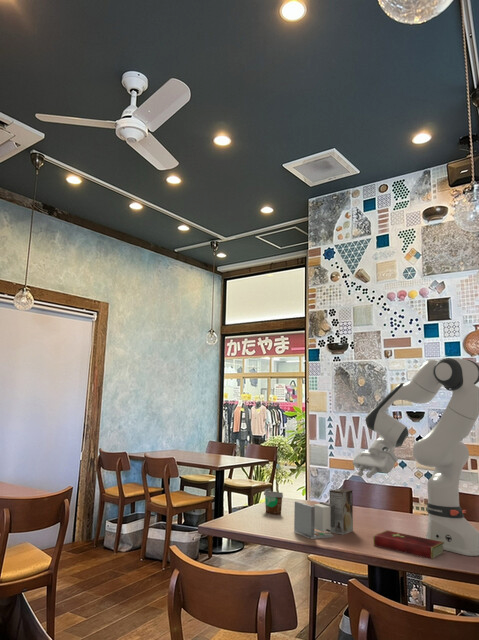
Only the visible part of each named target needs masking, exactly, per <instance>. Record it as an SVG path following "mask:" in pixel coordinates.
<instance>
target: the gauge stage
mask: <svg viewBox="0 0 479 640" xmlns="http://www.w3.org/2000/svg"><path fill="white" fill-rule="evenodd" d="M312 506H314V507H315V528H314V530H316V531H318V532H321V533H326V532H329V533H331V532H330V531H331V527H332V528H333V527H335V506H334V505H330V503H327V502H323V501H319V503H316V504H315V503H314V504H313V505H312Z"/></svg>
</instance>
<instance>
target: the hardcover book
mask: <svg viewBox="0 0 479 640" xmlns="http://www.w3.org/2000/svg"><path fill="white" fill-rule="evenodd" d="M443 543H444V542H441V541H436V540H432V539H427V538H426V537H421V536H418V535H417V536H416V535H412V534H406V533H402V532H398V531H392V530H385V531H382V532H378V533H376V534H374V535H373V546H375V547H379V548H383V549H387V550H392V551H396V552H401V553H405V554H410V555H413V556H416V557H417V556H418V557H422V558H427V559H429V560H434V558H435V557H437V556H439V555H441V554H443V552H444V551H443V545H442V544H443Z"/></svg>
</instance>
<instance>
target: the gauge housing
mask: <svg viewBox="0 0 479 640" xmlns="http://www.w3.org/2000/svg"><path fill="white" fill-rule="evenodd" d="M293 521H294V522H293V523H294V524H293V525H294V527H293V532H294V534H297V535H300V536H303V537H305V538H307V539H309V538H310V539H309V540H316V539H326V538H327V539H328V538H333V537H334V533H332V532H328V531H326V532H321V531H318V530H315V529H314V528H315V507H314V506H313V505H312V504H307V503H304V502H301V501H294V518H293Z"/></svg>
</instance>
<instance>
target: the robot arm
mask: <svg viewBox="0 0 479 640" xmlns="http://www.w3.org/2000/svg"><path fill="white" fill-rule="evenodd" d="M478 383H479V364H478V363H476V362H475V361H472V359H471V360H470V359H463V358H459V357H446V358H441V359H440V360H435V359H428V360H427V361H425V362H424V363H423V364H422V365H421V366H420V367H419V368H418V370H417V371H416V372H415V374H414V375H413V377H411V379H410V380H409V381H407V382H405V383H404V382H401V383H399V384H397V385H396V386H395V387H394V388H393V389H392V390H391V391H389V393H388V394H387V395H386V396H385V397H384V398H383V399H382V400H381V401H380V402H379V404H378V405H377V406H375V407H374V408H372V409H371V410H370V411H369V412H368V413H367V415H366V417H365V424H366V427H367V428H368V429H369V430H370V431H373V432H375V433H376V434H378V438H376V439H375V441H374V442H373V443H372V444H371V446H370V447H369V449H368V450H364V451H361V452H358V454H357V455H356V456H355V457H354V459H353V460H352V464H353V466H354V467H355V468H356V469H358V472H357V475H358V477H363V476H364V471H367V472H366V474H365V476H366V478H368V479H372V477H373V476H374V475H376V474H377V473H378V472H379V473H382V474H383V473H384V474H389V473H390V472H391V471H392V470H393V469H394V468H395V465H396V463H397V462H398V461H399V458H398V457H397V455H396V453H394V450H395V449H396V448H399V447H402V446H403V444H404V442H405V441H406V439H407V438H408V436H409V429H408V427H407V426H406V425H405V424H404V423H403V422H401V421H399V420H398V419H396V418H394V417H393V416H392V415H390V414H388V413H387V412H386V411H387V410H388V409H389V408H390V407H391V406H392V405H393V404H394V402H396V401H406V402H409V403H414V404H427V403H429V402H431V401H433V399H434V397H436V395H437V394H438V393H439V390H440V389H441V388H442V387H444V388H445V389H446V391H450V392H452V394H451V398H450V399H449V402H448V403H447V406H446V407H445V410H444V411H443V413H442V414H441V417H440V418H439V421H437V423H436V424H435V426H434V427H433V428H432V429H431V430H430V431H429V432H427V434H426V435H425V436H424V437H423V438H421V439H419V440H416V442H415V443H414V445H413V447H412V455H413V457H414V460H415V461H416V462H417V463H418V464H419V465H421V466H425V467H429V468H434V469H433V474H432V476H430V478H429V479H428V481H427V485H426V486H427V503H426V513H427V515H428V516H427V517H428V520H427V522H428V523H427V529H426V530H427V531H426V535H425V538H427V539H432V540H436V541H441V542H444V543H443V544H442V545H443V550H444V551H448V552H450V553H451V552H452V553H456V554H458V555H459V554H460V555H463V556H469V557H470V556H471V557H473V556H475V557H478V556H479V531H478V529H476V527H474V525H472V524H471V523H470V522H469V521H468V520H467V519H466V518H465V515H464V514H467V509H462V507H461V506H460V494H459V493H460V492H459V489H460V488H459V487H460V486H459V485H460V484H459V483H460V479H461V475H462V472H463V471H462V470H463V469H464V466H465V465H466V463H467V462H468V461H469V458H470V451H469V448H468V446H467V445H466V444H465V443H464V442H462V441H463V440H464V439H466V438H467V437H468V436H469V435H470V433H471V431H472V429H473V427H474V426H475V423H476V422H477V420H478V417H479V386H477V384H478Z"/></svg>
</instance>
